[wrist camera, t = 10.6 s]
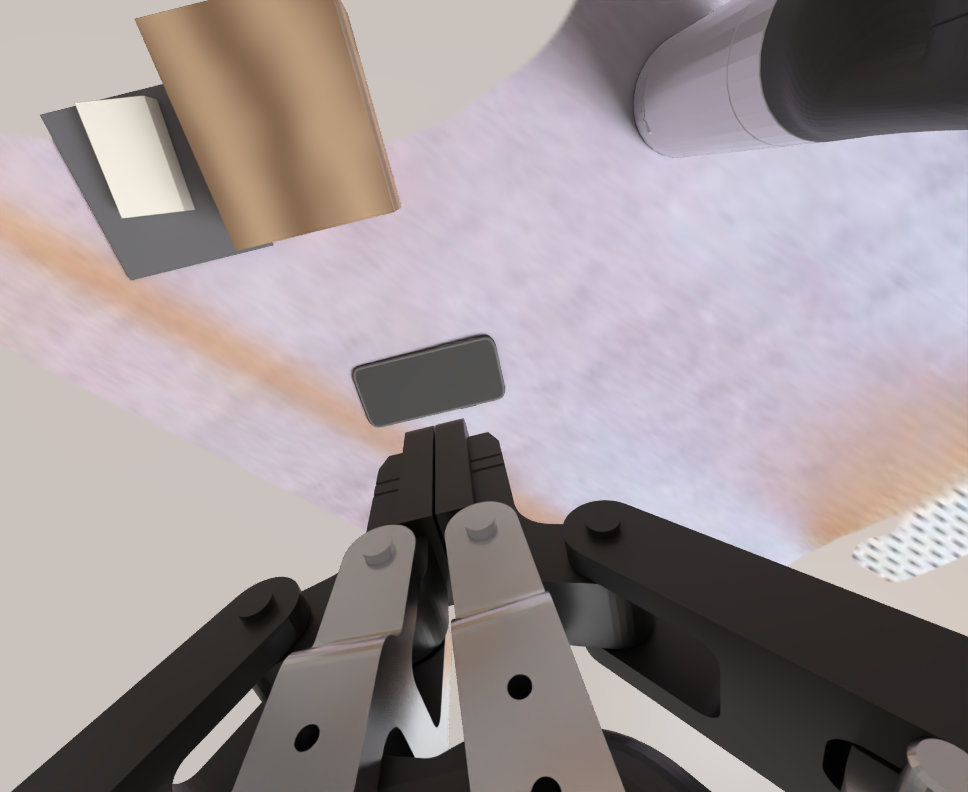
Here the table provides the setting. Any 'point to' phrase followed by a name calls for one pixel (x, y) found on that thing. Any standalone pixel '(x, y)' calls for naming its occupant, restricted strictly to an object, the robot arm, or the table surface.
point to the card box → (136, 155)
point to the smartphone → (430, 381)
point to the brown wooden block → (274, 113)
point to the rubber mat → (151, 237)
